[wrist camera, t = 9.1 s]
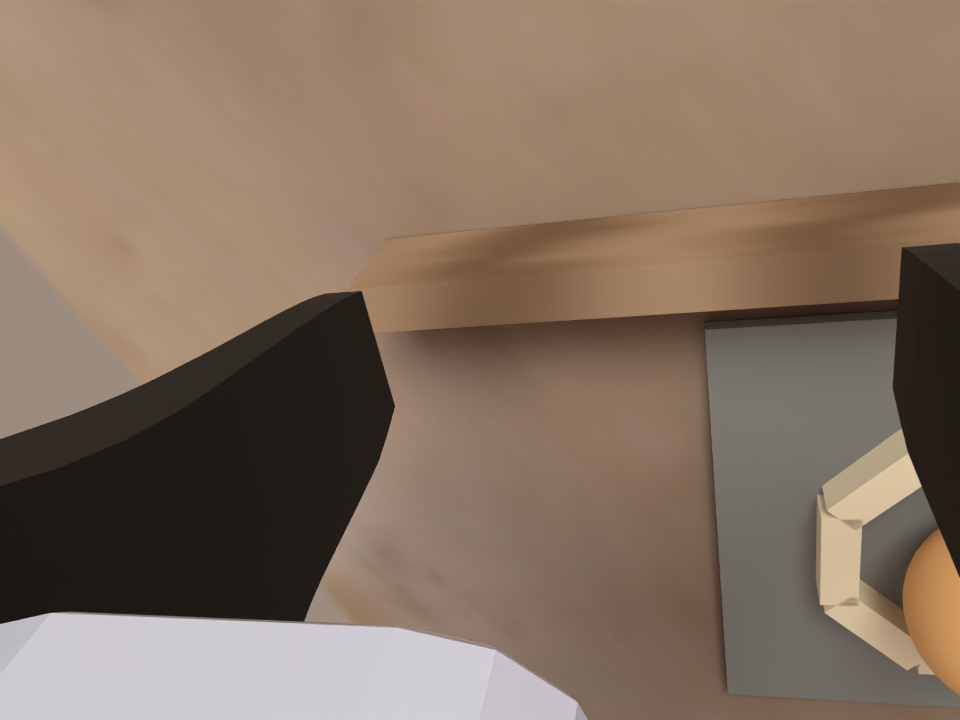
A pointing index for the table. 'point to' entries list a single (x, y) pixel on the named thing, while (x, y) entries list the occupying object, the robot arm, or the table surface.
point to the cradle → (815, 510)
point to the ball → (934, 609)
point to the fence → (659, 261)
